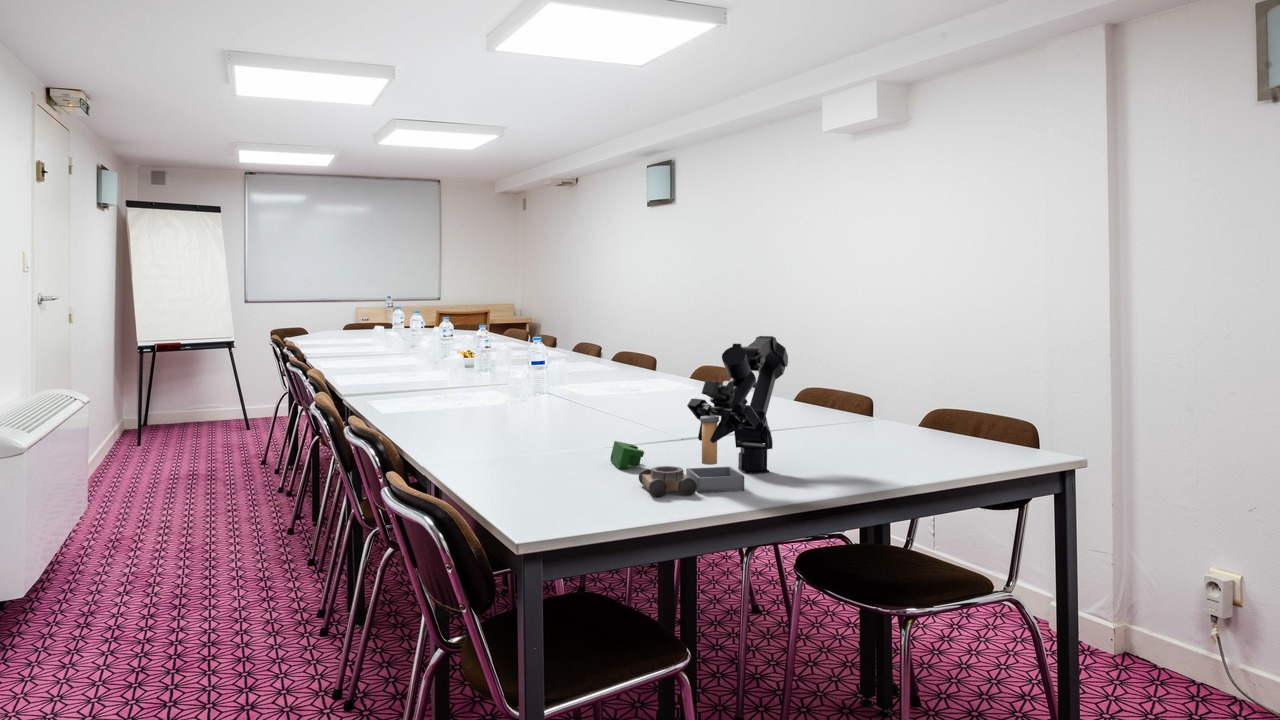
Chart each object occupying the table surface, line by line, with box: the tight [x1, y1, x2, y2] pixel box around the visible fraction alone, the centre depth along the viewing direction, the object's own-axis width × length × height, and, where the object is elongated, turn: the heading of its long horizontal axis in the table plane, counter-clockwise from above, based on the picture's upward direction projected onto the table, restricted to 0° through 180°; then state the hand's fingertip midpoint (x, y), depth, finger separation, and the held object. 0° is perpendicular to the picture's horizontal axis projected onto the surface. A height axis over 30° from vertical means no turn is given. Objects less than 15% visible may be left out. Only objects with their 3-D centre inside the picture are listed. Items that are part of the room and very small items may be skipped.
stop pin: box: [699, 416, 720, 466], centre depth 194 cm, size 4×4×11 cm
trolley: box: [638, 465, 697, 498], centre depth 192 cm, size 11×12×5 cm
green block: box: [610, 440, 645, 470], centre depth 221 cm, size 12×6×9 cm, turn 8°
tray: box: [685, 466, 745, 494], centre depth 196 cm, size 11×11×4 cm
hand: (705, 440), depth 193 cm, fingers closed on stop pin, 4 cm apart
